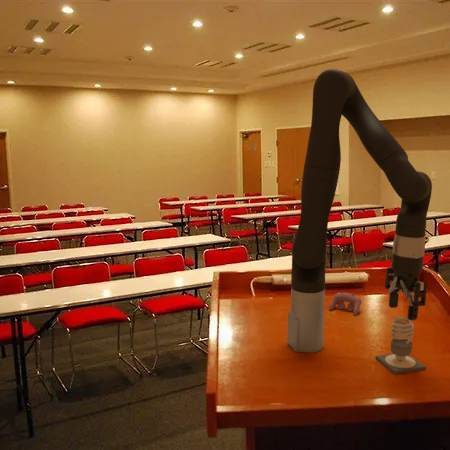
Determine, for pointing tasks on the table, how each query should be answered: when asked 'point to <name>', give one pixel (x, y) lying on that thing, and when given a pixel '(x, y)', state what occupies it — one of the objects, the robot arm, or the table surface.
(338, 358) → the table surface
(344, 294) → the video game controller
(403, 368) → the pad
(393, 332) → the light bulb
